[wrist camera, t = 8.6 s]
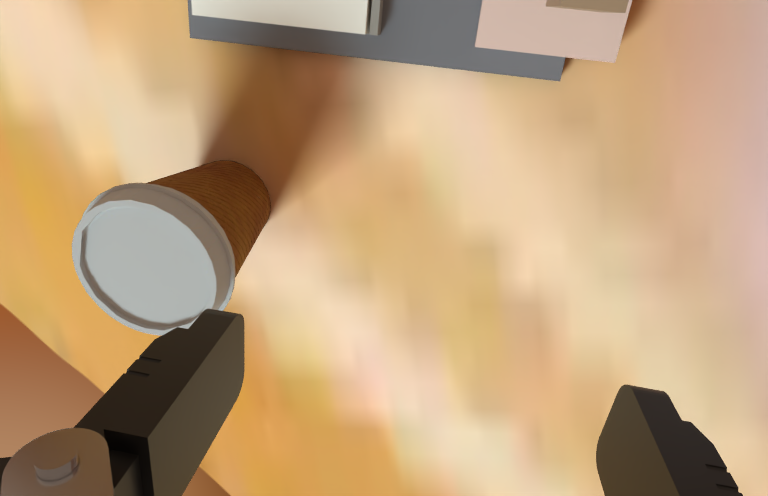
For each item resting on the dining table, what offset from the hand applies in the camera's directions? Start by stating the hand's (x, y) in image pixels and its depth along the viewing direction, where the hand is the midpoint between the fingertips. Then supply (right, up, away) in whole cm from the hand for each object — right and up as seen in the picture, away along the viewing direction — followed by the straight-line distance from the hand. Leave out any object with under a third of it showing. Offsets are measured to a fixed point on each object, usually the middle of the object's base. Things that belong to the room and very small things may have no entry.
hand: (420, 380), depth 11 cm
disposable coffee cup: (-12, +7, +29) cm, 32 cm away
